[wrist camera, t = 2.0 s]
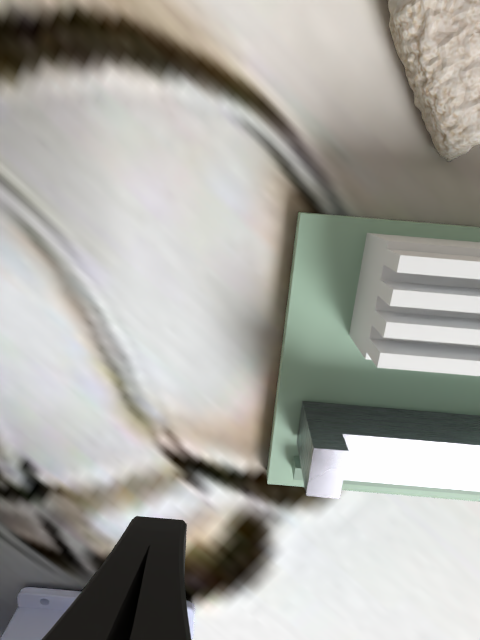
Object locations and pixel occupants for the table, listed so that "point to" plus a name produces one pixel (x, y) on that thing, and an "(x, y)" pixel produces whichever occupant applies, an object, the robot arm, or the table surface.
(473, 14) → the washcloth
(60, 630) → the robot arm
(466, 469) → the bar
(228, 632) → the table surface
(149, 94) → the table surface
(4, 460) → the table surface
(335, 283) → the board
